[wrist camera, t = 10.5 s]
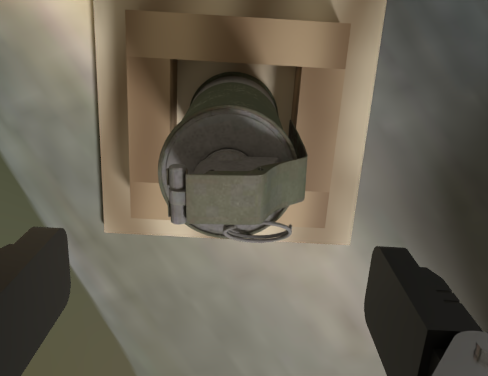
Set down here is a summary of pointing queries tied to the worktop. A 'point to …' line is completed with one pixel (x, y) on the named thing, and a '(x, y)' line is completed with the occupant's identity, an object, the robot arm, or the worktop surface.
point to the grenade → (232, 162)
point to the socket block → (245, 61)
